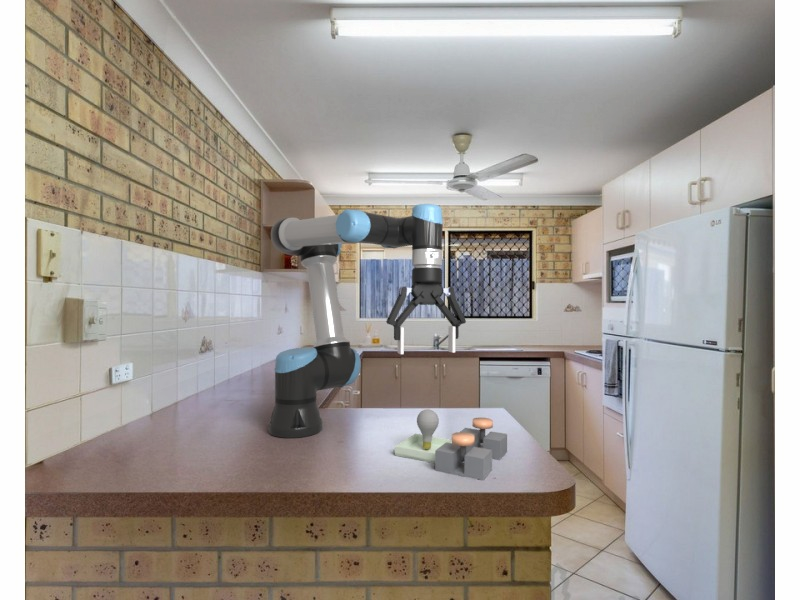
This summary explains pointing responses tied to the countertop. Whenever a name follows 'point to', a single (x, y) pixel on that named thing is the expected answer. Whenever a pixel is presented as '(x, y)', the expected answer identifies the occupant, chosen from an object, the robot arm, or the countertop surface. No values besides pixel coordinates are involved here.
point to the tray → (419, 448)
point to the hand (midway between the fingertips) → (426, 353)
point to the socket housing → (472, 455)
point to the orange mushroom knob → (482, 426)
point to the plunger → (463, 442)
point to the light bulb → (427, 426)
